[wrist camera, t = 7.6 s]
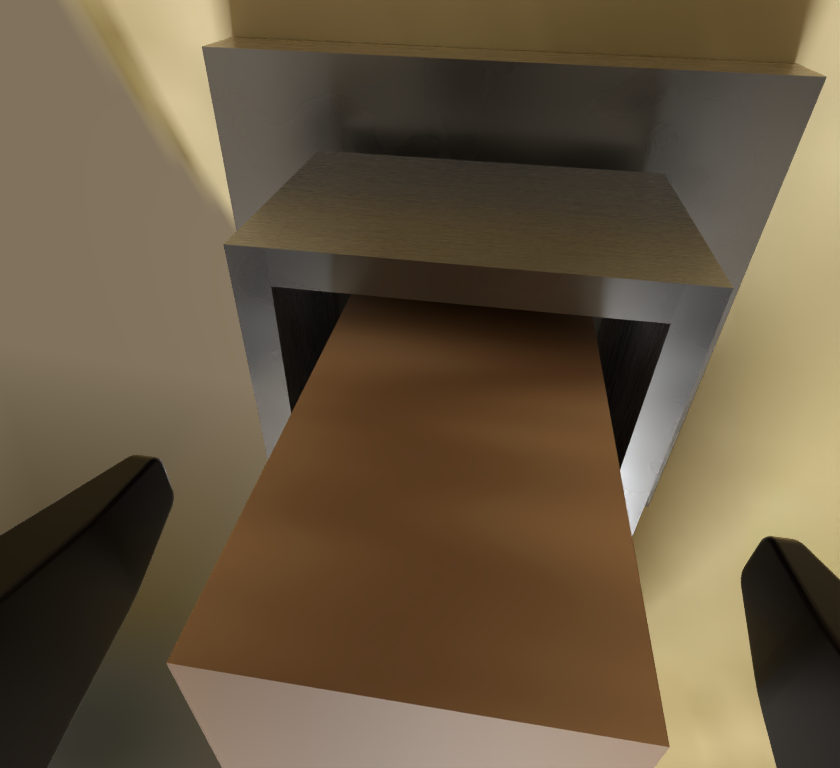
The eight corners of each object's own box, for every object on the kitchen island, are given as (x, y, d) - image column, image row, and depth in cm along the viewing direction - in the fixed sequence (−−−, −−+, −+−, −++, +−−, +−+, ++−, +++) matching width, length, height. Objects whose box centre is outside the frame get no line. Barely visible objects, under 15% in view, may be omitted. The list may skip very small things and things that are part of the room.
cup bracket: (796, 63, 11) (1166, 227, 5) (640, 471, 19) (702, 758, 12) (232, 37, 13) (-91, 138, 6) (293, 430, 20) (179, 669, 13)
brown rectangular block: (585, 242, 11) (687, 744, 4) (551, 404, 14) (577, 882, 7) (378, 225, 12) (150, 655, 5) (382, 385, 14) (241, 817, 7)
